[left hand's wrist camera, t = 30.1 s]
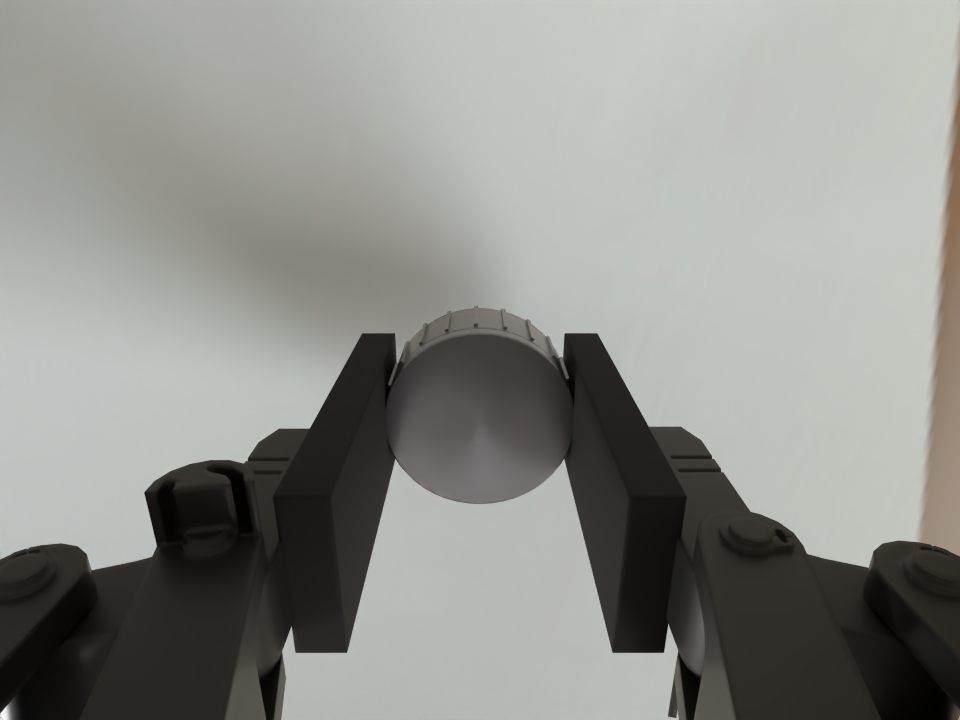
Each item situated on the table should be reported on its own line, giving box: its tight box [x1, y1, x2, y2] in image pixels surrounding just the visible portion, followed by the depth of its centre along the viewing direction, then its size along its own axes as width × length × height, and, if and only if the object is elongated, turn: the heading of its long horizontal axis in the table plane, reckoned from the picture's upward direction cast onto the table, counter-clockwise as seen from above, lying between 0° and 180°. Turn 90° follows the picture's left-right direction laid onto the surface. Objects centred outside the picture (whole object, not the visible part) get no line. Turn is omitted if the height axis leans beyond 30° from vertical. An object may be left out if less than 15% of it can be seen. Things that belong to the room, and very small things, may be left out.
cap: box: [385, 306, 574, 504], centre depth 13 cm, size 4×4×2 cm
